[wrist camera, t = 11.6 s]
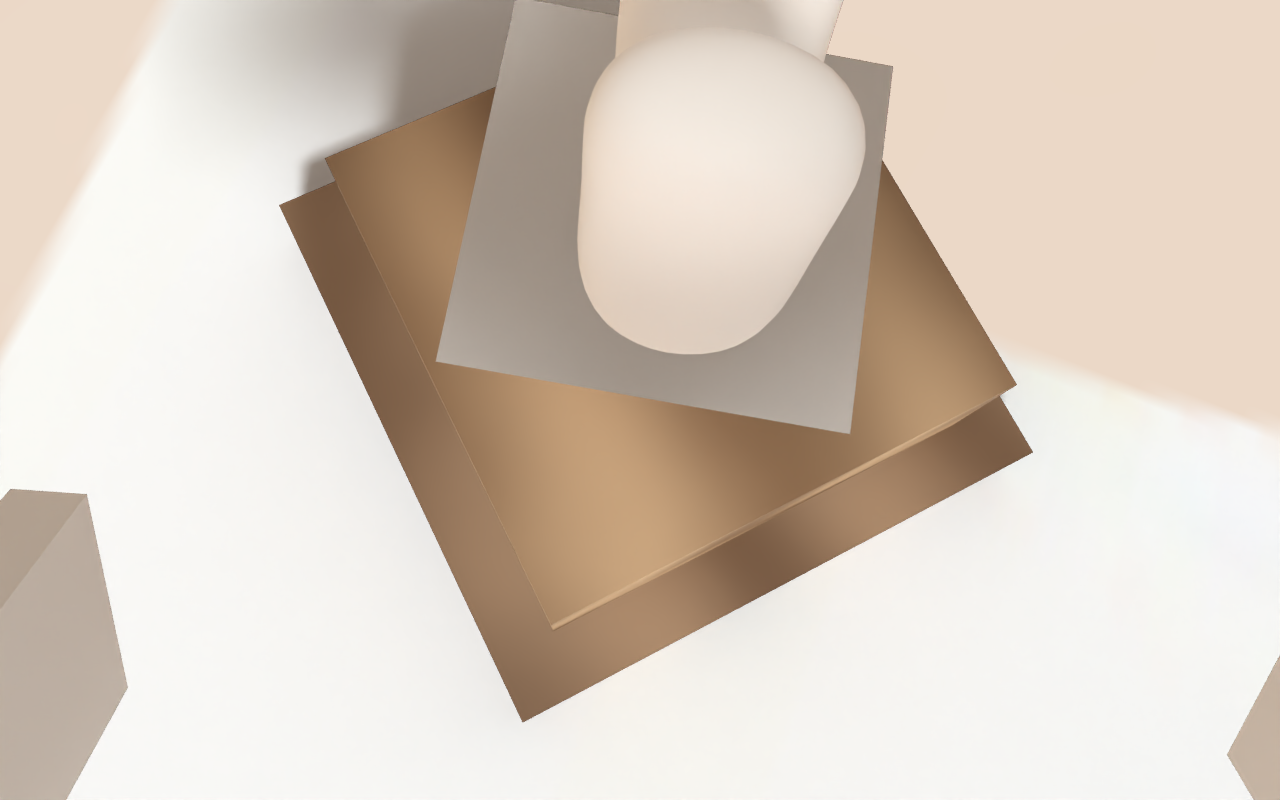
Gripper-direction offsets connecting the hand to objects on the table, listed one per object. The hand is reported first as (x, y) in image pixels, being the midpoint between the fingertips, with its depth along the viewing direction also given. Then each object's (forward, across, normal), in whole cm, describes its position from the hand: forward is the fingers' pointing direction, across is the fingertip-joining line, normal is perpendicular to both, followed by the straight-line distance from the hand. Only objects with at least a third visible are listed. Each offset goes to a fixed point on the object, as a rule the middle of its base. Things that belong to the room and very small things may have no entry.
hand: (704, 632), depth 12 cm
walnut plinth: (+16, 0, -5) cm, 17 cm away
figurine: (+12, 0, -1) cm, 12 cm away
